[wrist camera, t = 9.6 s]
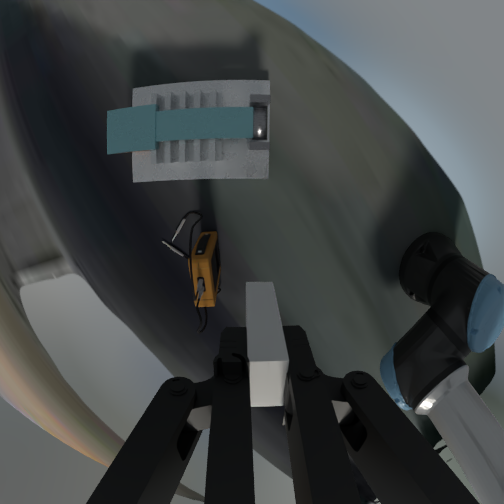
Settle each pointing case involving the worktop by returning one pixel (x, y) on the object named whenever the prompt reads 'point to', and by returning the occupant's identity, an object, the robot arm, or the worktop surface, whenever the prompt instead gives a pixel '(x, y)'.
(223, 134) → the lever
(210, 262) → the multimeter
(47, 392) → the worktop surface
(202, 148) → the heatsink base
